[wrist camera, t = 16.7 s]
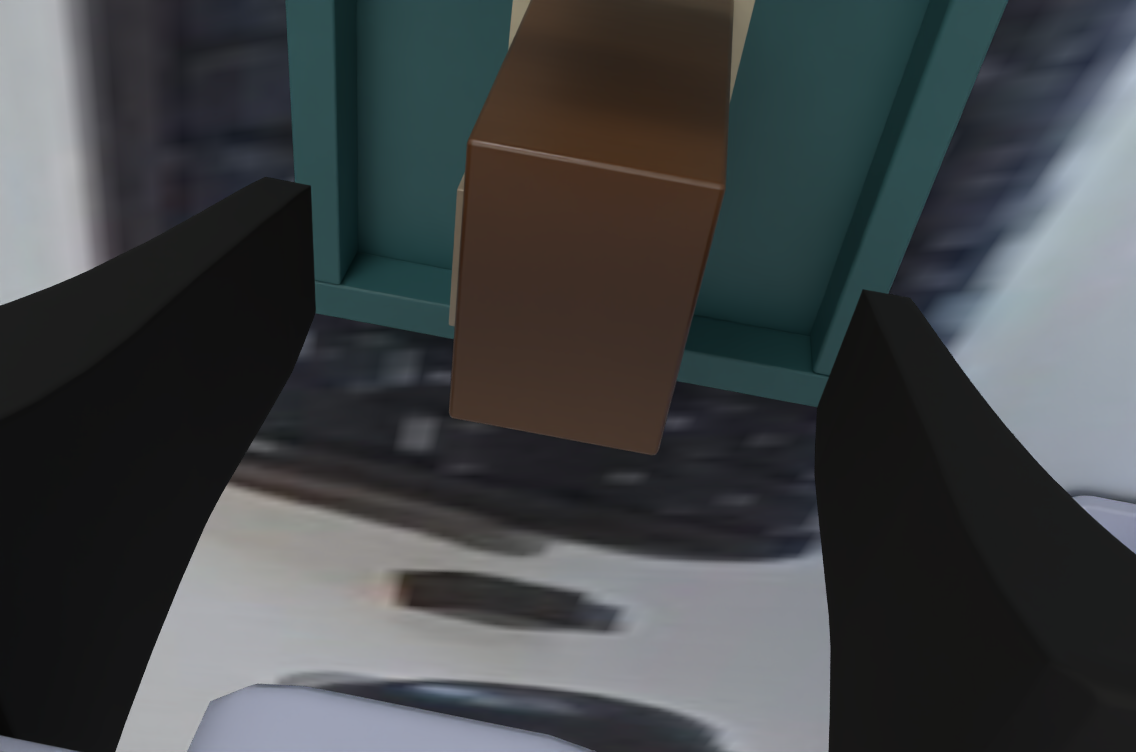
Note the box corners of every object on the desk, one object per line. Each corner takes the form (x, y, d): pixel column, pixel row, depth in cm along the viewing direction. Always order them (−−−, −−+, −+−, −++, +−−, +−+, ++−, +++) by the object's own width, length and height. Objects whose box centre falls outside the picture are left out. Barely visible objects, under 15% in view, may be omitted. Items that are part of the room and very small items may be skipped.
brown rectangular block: (680, 230, 19) (657, 458, 15) (509, 199, 19) (433, 417, 15) (735, -6, 16) (727, 186, 12) (533, -41, 16) (447, 135, 12)
